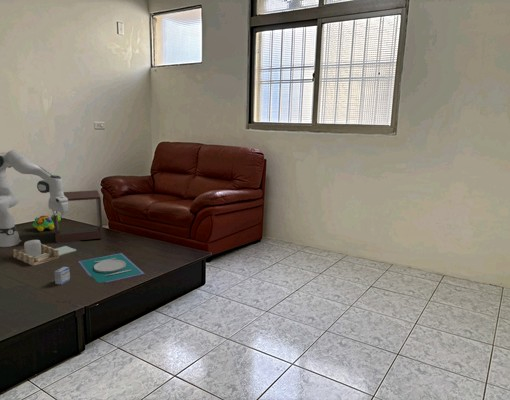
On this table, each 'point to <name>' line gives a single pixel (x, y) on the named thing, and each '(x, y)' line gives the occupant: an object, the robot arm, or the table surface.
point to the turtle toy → (44, 222)
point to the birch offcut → (41, 257)
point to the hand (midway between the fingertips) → (58, 216)
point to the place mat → (110, 268)
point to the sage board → (65, 250)
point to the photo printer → (32, 248)
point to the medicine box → (62, 275)
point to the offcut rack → (30, 259)
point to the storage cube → (81, 232)
